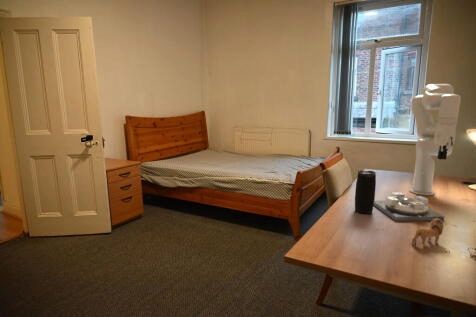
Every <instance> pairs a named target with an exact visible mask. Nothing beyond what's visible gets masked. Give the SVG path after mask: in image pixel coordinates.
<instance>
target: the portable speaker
mask: <svg viewBox="0 0 476 317" xmlns="http://www.w3.org/2000/svg"><path fill="white" fill-rule="evenodd" d="M355 181H356V182H355V191H354V193H355V195H354V212H356V213H358V214H361V213H364V214H365V213H366V214H367V215H371V214H373V211H374V210H373V209H374V207H375V206H374V201H376V198H375V197H376V186H377V184H376V183H377V174H376V171H374V170H358V171H357V177H356V180H355Z"/></svg>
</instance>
